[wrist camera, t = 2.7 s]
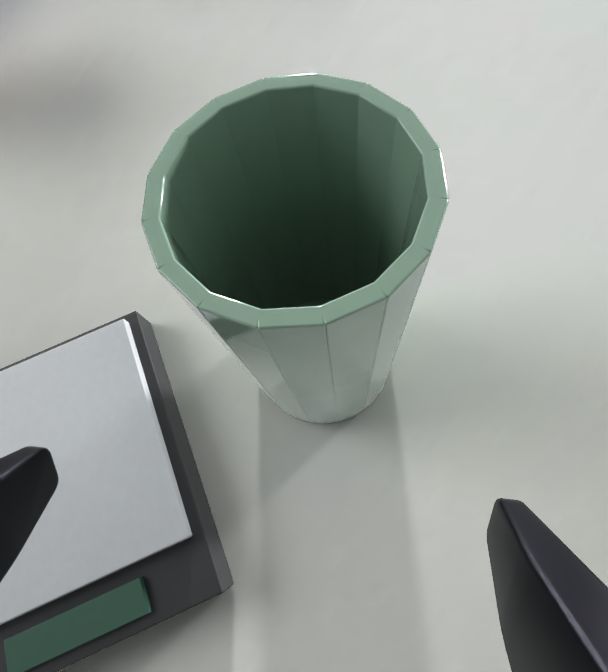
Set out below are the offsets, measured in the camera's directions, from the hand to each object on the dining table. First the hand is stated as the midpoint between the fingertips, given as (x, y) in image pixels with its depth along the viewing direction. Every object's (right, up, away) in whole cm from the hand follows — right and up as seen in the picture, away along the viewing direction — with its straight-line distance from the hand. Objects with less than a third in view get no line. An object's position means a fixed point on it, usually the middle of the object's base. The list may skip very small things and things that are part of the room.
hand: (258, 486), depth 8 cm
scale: (-10, -5, +13) cm, 17 cm away
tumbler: (+2, +2, +14) cm, 14 cm away
